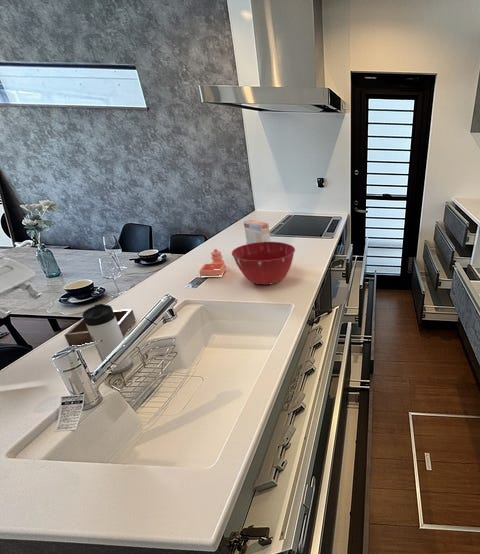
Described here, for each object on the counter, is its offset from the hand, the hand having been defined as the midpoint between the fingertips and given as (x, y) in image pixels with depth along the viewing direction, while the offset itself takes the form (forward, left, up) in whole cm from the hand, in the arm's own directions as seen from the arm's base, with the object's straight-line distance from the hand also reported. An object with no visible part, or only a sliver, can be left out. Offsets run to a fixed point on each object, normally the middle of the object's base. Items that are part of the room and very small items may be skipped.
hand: (24, 305), depth 77 cm
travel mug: (+15, 0, -23) cm, 27 cm away
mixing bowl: (+55, +56, -23) cm, 82 cm away
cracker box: (+50, +89, -23) cm, 105 cm away
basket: (+2, +21, -23) cm, 31 cm away
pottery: (+29, +72, -23) cm, 81 cm away
